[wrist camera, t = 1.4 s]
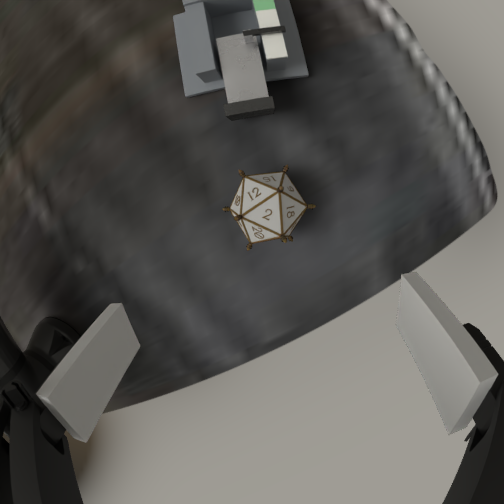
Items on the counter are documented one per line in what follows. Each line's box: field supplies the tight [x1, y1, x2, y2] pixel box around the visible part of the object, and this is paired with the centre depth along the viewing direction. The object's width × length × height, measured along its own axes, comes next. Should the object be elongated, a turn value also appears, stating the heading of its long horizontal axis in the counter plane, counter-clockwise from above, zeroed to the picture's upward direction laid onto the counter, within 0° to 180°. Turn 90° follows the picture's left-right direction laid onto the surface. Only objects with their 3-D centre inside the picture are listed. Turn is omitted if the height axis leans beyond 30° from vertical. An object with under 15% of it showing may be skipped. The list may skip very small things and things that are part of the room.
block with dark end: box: [216, 26, 286, 121], centre depth 23 cm, size 7×9×5 cm
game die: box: [222, 164, 316, 251], centre depth 29 cm, size 9×8×10 cm
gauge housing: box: [173, 0, 309, 98], centre depth 22 cm, size 14×12×6 cm
